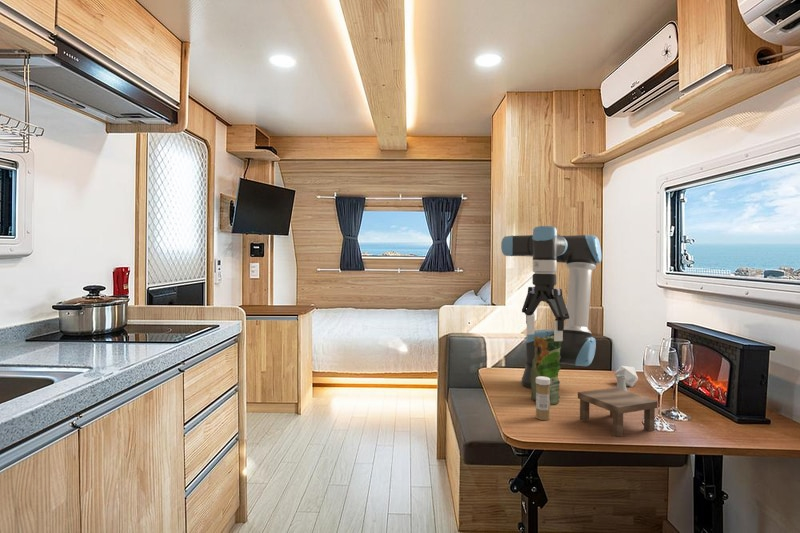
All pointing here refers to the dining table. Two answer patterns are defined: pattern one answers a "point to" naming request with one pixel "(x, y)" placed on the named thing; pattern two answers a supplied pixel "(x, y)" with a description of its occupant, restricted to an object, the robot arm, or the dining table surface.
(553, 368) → the pouch
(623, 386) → the flask
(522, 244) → the robot arm
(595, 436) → the dining table surface
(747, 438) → the dining table surface
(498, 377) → the dining table surface
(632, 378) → the die
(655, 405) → the walnut stool
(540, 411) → the sprinkles bottle
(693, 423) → the dining table surface
